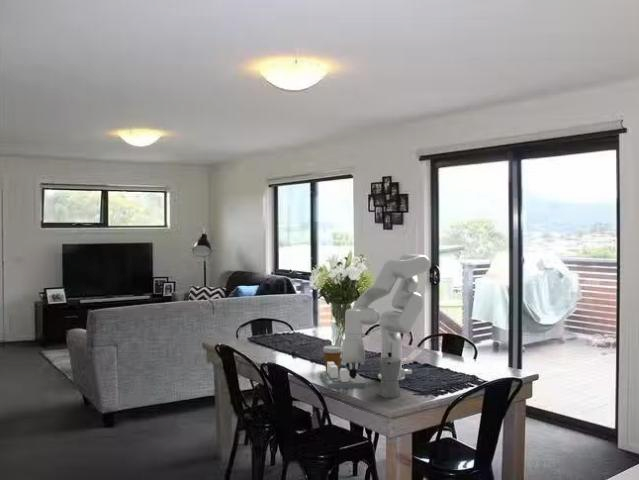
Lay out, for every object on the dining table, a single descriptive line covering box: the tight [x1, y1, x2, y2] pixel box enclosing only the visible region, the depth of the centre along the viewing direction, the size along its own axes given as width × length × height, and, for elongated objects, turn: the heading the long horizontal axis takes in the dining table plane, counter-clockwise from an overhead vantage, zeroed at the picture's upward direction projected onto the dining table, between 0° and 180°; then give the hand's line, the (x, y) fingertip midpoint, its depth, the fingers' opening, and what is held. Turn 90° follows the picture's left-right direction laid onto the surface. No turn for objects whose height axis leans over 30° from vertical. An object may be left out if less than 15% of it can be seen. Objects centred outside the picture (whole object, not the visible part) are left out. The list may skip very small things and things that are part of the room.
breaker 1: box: [327, 362, 335, 375], centre depth 284 cm, size 3×4×5 cm
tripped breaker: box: [339, 367, 349, 382], centre depth 271 cm, size 3×4×5 cm
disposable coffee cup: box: [322, 344, 342, 372], centre depth 297 cm, size 10×10×12 cm
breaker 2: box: [330, 365, 338, 378], centre depth 277 cm, size 3×4×5 cm
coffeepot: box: [378, 352, 402, 399], centre depth 257 cm, size 15×9×18 cm, turn 171°
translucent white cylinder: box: [402, 349, 423, 366], centre depth 314 cm, size 6×6×25 cm
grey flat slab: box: [319, 370, 367, 390], centre depth 278 cm, size 17×22×2 cm
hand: (352, 377), depth 271 cm, fingers closed
